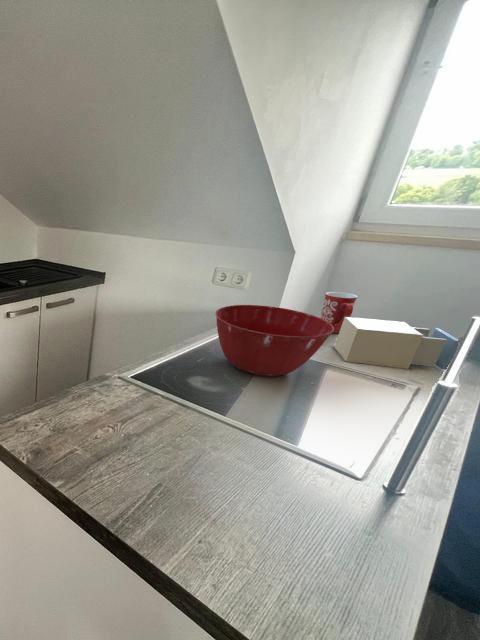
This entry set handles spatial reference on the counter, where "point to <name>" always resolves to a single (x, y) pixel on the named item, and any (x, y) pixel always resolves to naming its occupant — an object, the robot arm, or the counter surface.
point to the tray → (435, 348)
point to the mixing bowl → (269, 338)
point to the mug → (337, 308)
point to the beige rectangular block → (378, 342)
